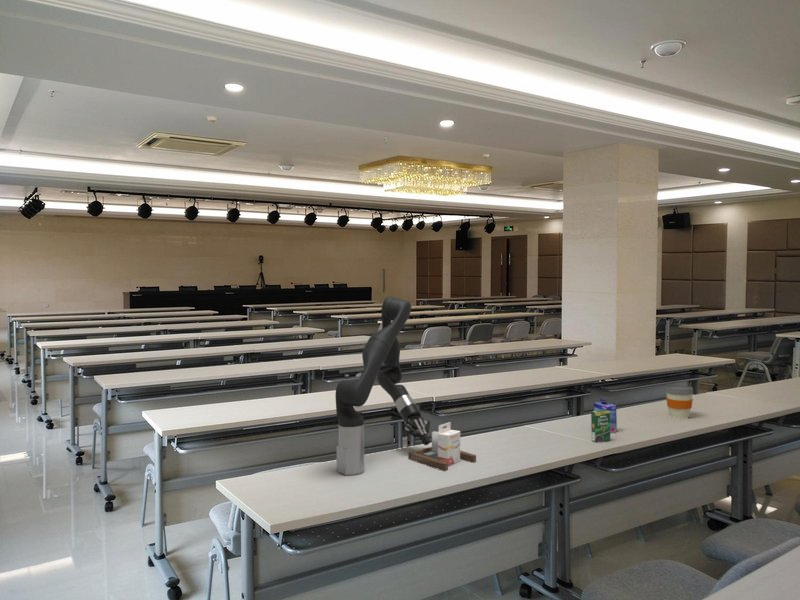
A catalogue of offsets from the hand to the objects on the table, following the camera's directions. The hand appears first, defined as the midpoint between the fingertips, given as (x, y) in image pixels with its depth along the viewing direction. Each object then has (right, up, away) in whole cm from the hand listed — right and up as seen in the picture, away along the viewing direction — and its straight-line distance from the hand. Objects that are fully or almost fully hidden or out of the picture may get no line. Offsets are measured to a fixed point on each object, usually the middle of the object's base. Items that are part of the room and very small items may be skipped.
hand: (427, 443), depth 238 cm
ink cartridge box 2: (+83, -3, +38) cm, 91 cm away
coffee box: (+75, -4, +19) cm, 78 cm away
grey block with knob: (+3, -5, -4) cm, 7 cm away
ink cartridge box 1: (+8, -5, -9) cm, 13 cm away
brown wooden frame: (+5, -5, -6) cm, 9 cm away
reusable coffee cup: (+129, -2, +63) cm, 143 cm away
